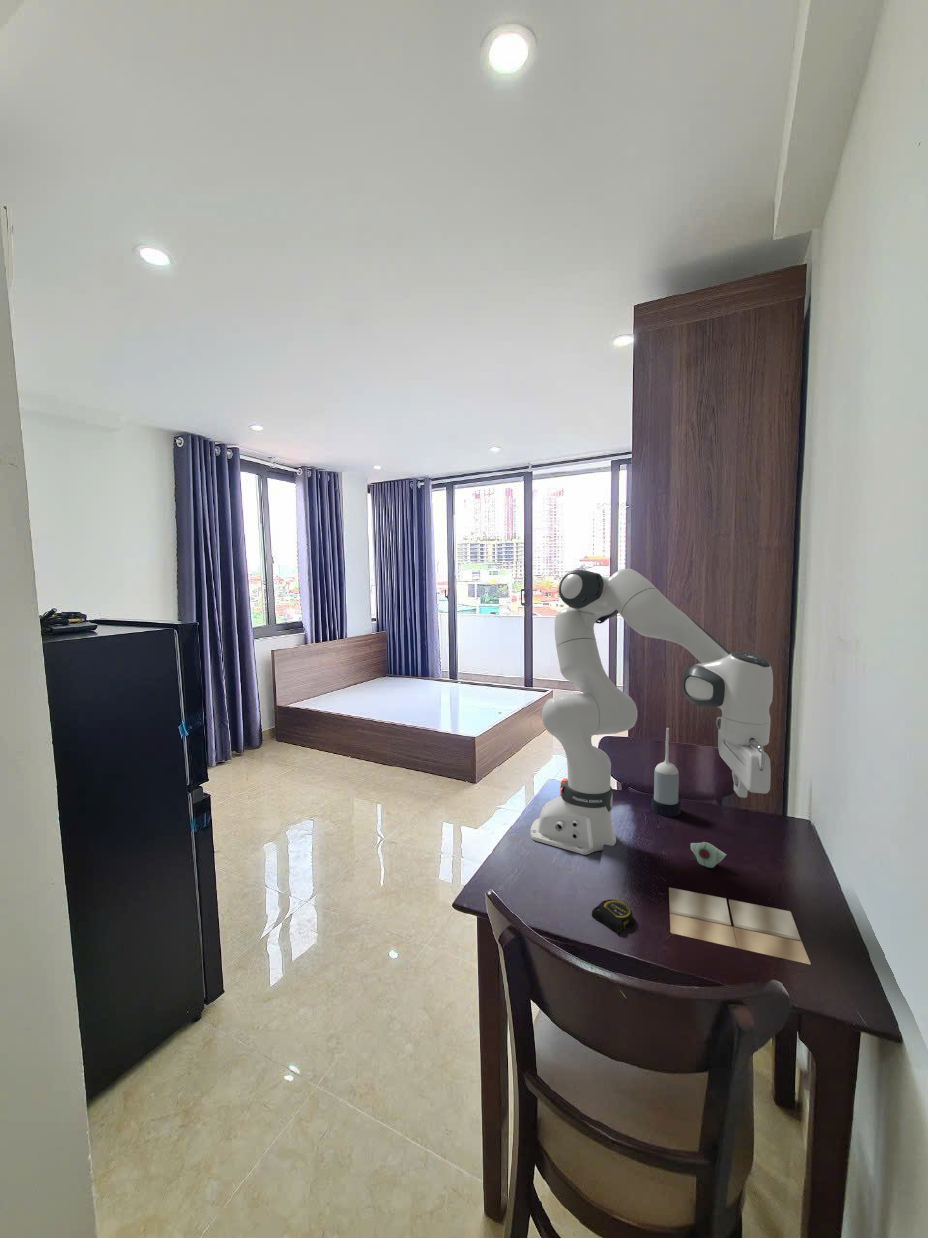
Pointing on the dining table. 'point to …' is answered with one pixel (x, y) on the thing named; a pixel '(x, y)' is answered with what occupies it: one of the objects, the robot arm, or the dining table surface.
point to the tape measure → (614, 915)
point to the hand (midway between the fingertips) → (740, 794)
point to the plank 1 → (699, 906)
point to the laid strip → (739, 938)
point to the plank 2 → (763, 919)
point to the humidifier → (666, 787)
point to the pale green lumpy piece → (707, 854)
